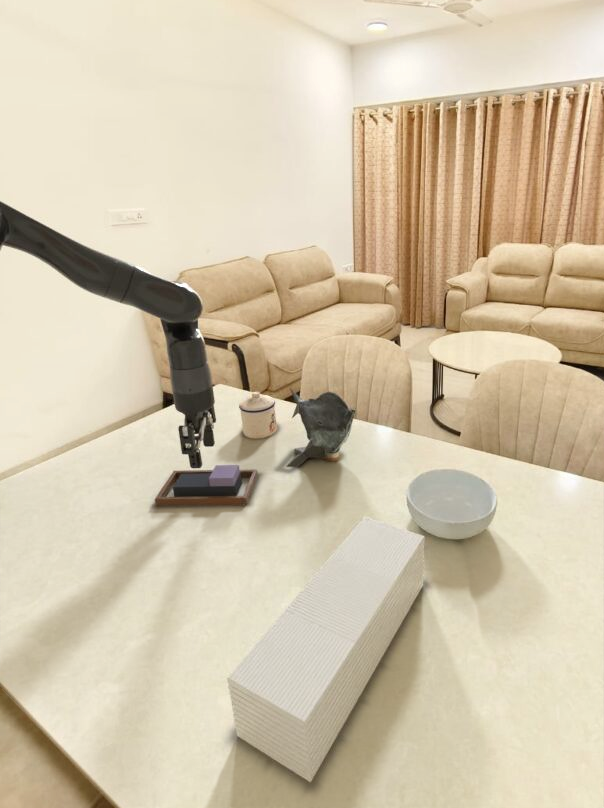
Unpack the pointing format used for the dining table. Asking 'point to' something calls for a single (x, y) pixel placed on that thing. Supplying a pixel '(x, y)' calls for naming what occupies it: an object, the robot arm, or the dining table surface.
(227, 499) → the empty rectangular frame
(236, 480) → the navy and purple block
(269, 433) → the teacup with lid
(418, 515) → the cereal bowl
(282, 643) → the stack of papers
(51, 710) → the dining table surface
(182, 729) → the dining table surface
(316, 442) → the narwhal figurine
